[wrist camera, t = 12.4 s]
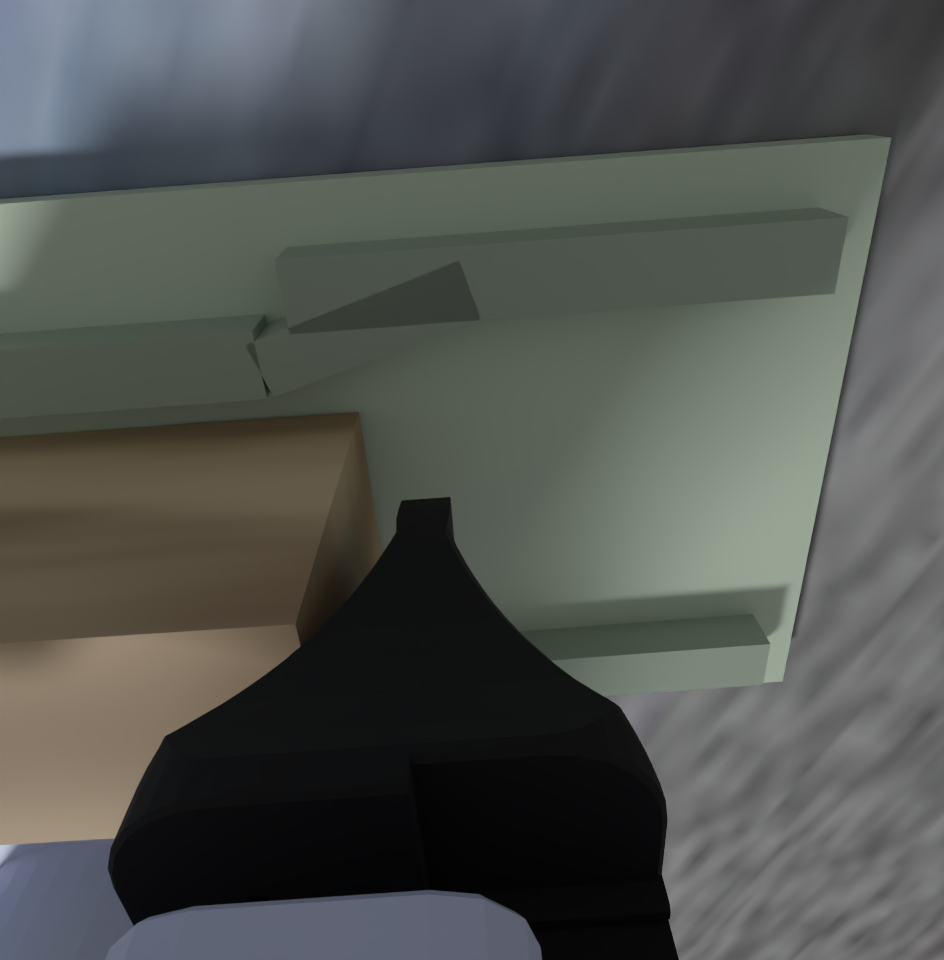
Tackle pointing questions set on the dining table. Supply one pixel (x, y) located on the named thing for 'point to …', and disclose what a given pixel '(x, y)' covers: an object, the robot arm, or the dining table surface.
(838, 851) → the dining table surface
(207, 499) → the panel block
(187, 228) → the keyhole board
